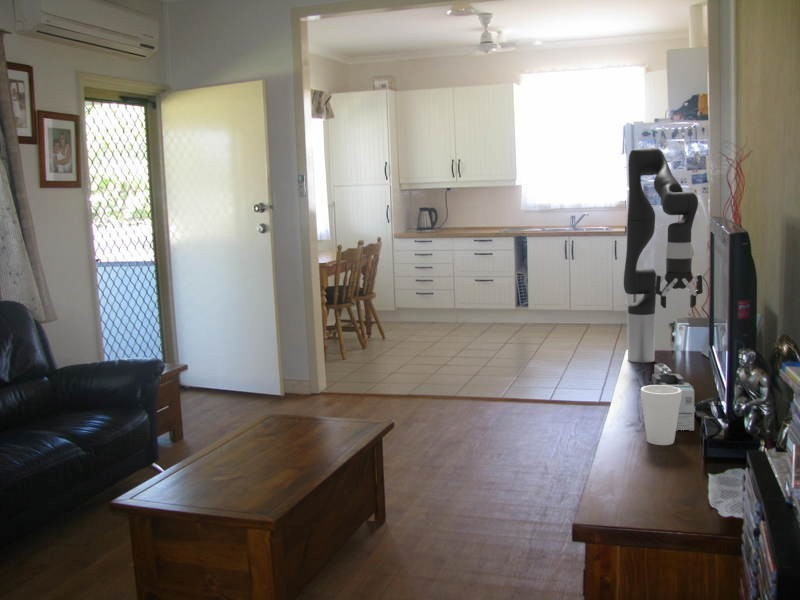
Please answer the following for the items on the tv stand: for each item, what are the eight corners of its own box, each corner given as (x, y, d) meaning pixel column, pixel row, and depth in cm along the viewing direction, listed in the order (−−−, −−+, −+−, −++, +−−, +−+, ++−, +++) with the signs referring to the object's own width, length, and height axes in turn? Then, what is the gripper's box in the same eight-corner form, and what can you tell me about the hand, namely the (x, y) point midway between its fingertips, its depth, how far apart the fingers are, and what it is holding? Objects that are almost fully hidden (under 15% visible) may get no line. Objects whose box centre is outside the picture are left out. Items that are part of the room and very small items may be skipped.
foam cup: (675, 449, 195) (675, 395, 194) (636, 444, 200) (636, 391, 199) (684, 438, 203) (685, 387, 202) (646, 433, 208) (646, 383, 207)
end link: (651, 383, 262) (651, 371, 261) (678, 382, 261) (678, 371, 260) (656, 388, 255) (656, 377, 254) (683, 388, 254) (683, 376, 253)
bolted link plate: (654, 376, 272) (654, 362, 271) (664, 376, 272) (665, 362, 271) (660, 383, 262) (660, 369, 262) (671, 383, 262) (671, 369, 261)
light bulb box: (688, 423, 216) (689, 383, 215) (695, 431, 209) (695, 389, 208) (646, 424, 217) (647, 384, 216) (652, 431, 210) (652, 390, 209)
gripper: (699, 254, 261) (698, 305, 263) (653, 255, 262) (652, 305, 265) (705, 257, 253) (704, 309, 256) (657, 258, 255) (657, 309, 257)
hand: (677, 307), depth 260 cm, fingers open, 8 cm apart
